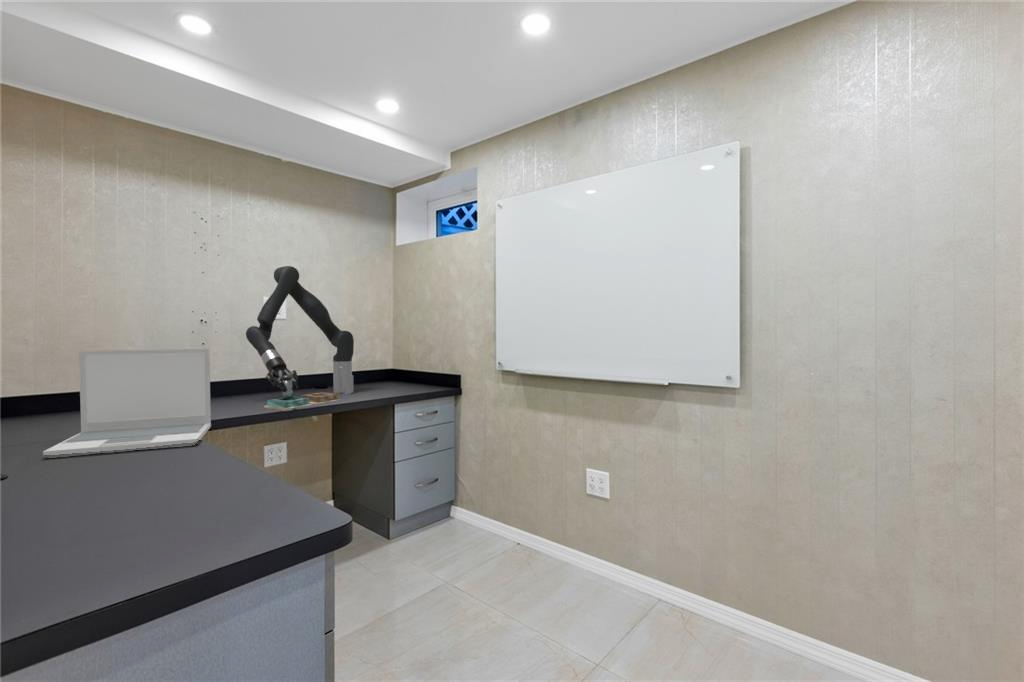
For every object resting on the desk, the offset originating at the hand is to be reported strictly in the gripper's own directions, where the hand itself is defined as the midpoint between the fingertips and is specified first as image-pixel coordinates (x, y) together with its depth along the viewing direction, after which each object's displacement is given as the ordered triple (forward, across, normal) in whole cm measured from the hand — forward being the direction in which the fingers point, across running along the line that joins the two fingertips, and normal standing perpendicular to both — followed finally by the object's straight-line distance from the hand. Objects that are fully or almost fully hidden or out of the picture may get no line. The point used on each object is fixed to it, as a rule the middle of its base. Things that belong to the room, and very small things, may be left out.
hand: (291, 390), depth 209 cm
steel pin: (+3, 0, +6) cm, 7 cm away
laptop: (+16, -63, -5) cm, 65 cm away
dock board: (+4, +8, +7) cm, 11 cm away
